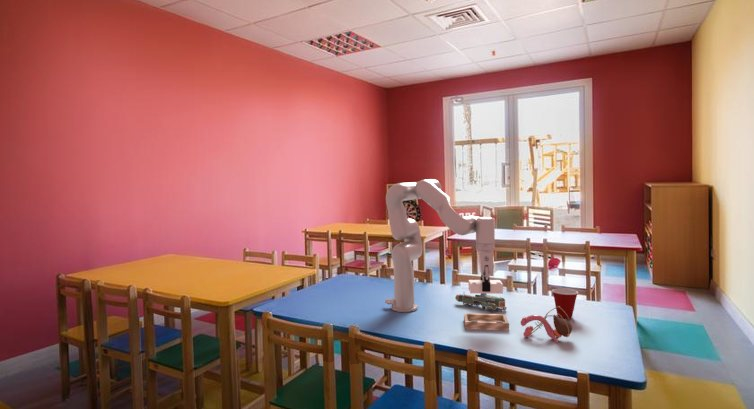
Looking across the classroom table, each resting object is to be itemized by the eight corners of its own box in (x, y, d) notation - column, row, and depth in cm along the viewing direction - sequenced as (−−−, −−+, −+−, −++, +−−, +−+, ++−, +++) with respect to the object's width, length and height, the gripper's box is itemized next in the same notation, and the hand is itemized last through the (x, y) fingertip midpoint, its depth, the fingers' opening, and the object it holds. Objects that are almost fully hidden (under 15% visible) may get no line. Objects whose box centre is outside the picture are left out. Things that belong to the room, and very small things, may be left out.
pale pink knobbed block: (499, 289, 181) (499, 278, 181) (502, 293, 175) (502, 282, 175) (468, 289, 182) (468, 278, 182) (470, 293, 176) (470, 282, 176)
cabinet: (465, 329, 176) (465, 321, 175) (464, 319, 186) (464, 312, 186) (509, 330, 173) (509, 322, 173) (505, 321, 184) (505, 313, 183)
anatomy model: (517, 320, 175) (546, 293, 169) (546, 348, 170) (578, 322, 164) (512, 329, 164) (544, 301, 158) (544, 360, 160) (577, 332, 154)
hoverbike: (503, 315, 192) (503, 297, 192) (451, 306, 206) (451, 289, 205) (509, 309, 200) (509, 291, 200) (458, 301, 214) (458, 285, 213)
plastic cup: (576, 314, 190) (577, 287, 190) (579, 322, 180) (580, 294, 179) (550, 312, 194) (550, 286, 193) (552, 320, 184) (552, 292, 183)
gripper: (497, 250, 168) (497, 295, 169) (492, 243, 185) (492, 283, 187) (477, 250, 169) (477, 294, 171) (474, 243, 186) (474, 283, 188)
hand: (485, 288), depth 179 cm, fingers closed on pale pink knobbed block, 6 cm apart
